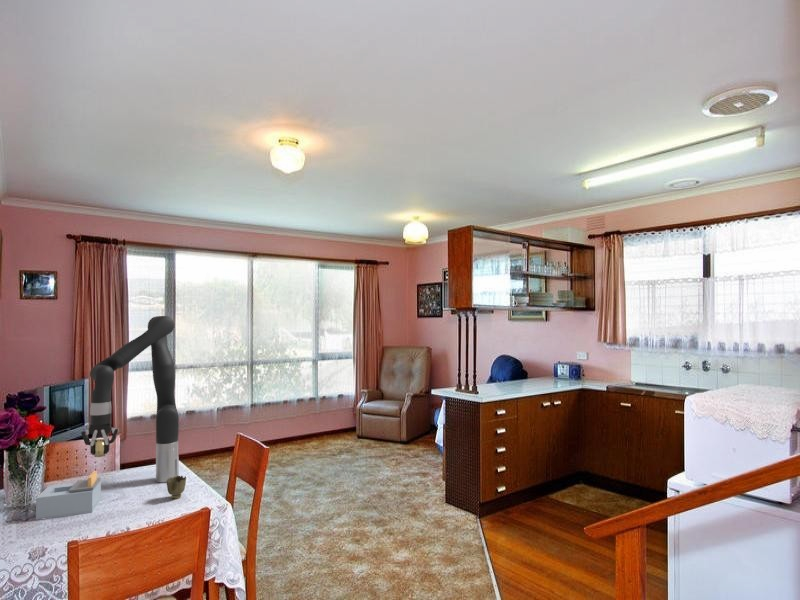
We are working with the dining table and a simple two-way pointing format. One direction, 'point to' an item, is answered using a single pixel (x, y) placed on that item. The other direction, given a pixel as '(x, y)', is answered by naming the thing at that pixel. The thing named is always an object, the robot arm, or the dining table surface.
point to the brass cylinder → (99, 448)
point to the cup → (176, 486)
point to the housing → (66, 501)
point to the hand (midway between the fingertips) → (99, 453)
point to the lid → (86, 483)
